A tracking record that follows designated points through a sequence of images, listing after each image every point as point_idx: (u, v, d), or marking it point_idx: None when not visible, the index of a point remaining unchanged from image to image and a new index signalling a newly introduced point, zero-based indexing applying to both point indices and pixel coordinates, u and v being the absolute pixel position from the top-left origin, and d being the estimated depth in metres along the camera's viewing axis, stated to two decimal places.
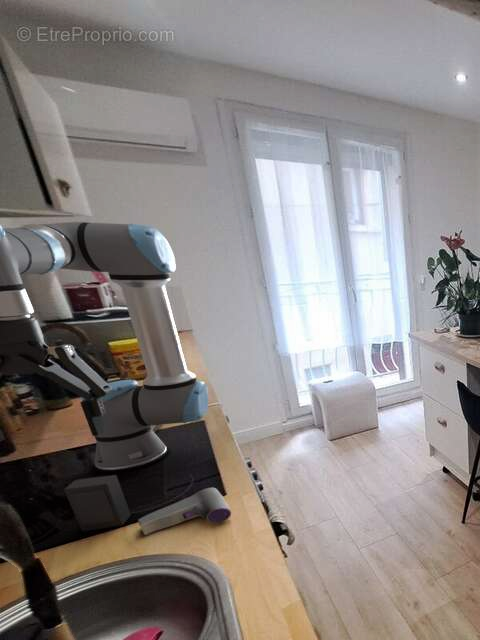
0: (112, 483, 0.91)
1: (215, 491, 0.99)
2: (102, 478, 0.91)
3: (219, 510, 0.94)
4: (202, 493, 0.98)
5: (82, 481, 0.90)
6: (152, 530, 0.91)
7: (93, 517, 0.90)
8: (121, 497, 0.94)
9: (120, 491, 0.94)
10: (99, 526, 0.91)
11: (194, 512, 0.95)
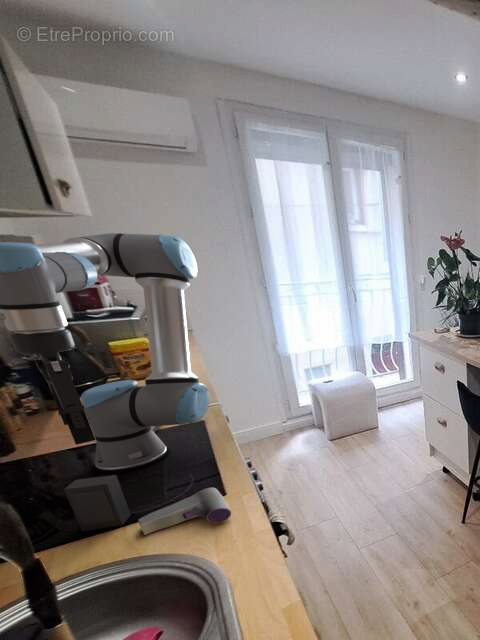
0: (112, 483, 0.91)
1: (215, 491, 0.99)
2: (102, 478, 0.91)
3: (219, 510, 0.94)
4: (202, 493, 0.98)
5: (81, 481, 0.90)
6: (152, 530, 0.91)
7: (93, 517, 0.90)
8: (121, 497, 0.94)
9: (120, 491, 0.94)
10: (99, 526, 0.91)
11: (194, 512, 0.95)
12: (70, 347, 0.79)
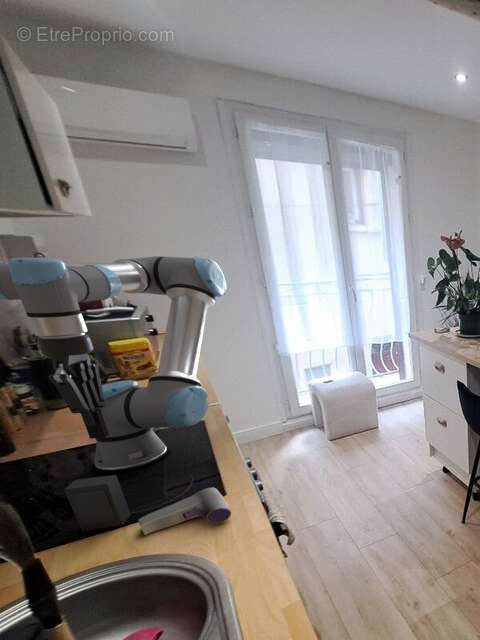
0: (112, 483, 0.91)
1: (215, 491, 0.99)
2: (102, 478, 0.91)
3: (219, 510, 0.94)
4: (202, 493, 0.98)
5: (81, 481, 0.90)
6: (152, 530, 0.91)
7: (93, 517, 0.90)
8: (121, 497, 0.94)
9: (120, 491, 0.94)
10: (99, 526, 0.91)
11: (194, 512, 0.95)
12: (80, 353, 0.86)
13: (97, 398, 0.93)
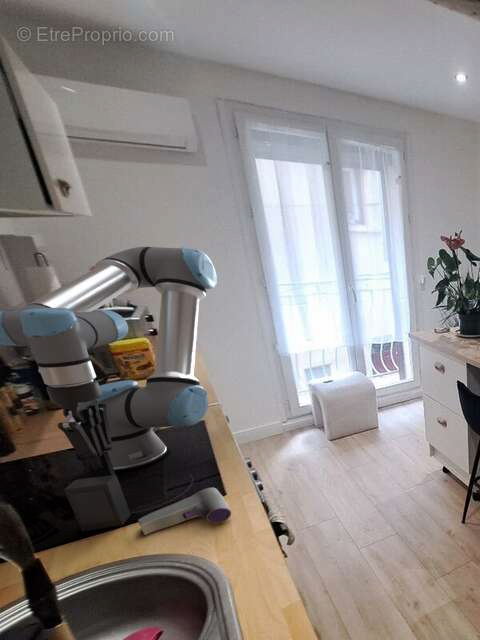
0: (112, 483, 0.91)
1: (215, 491, 0.99)
2: (102, 478, 0.91)
3: (219, 510, 0.94)
4: (202, 493, 0.98)
5: (81, 481, 0.90)
6: (152, 530, 0.91)
7: (93, 517, 0.90)
8: (121, 497, 0.94)
9: (120, 491, 0.94)
10: (99, 526, 0.91)
11: (194, 512, 0.95)
12: (89, 399, 0.87)
13: (105, 441, 0.94)
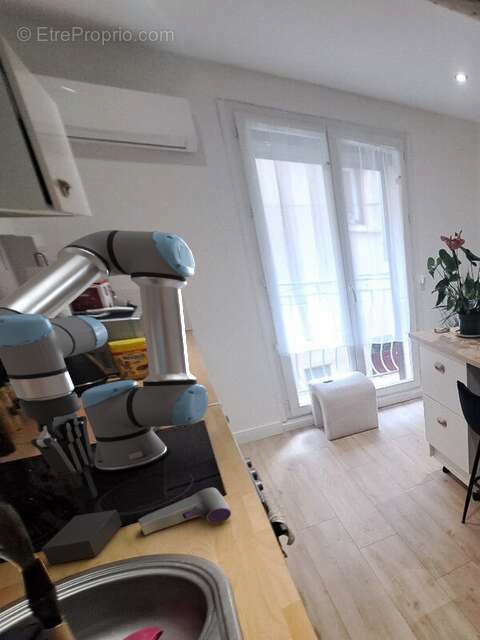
0: (95, 546, 0.84)
1: (215, 491, 0.99)
2: (77, 547, 0.82)
3: (219, 510, 0.94)
4: (202, 493, 0.98)
5: (55, 551, 0.80)
6: (152, 530, 0.91)
7: None
8: (104, 528, 0.87)
9: (100, 530, 0.86)
10: None
11: (194, 512, 0.95)
12: (66, 413, 0.80)
13: (85, 457, 0.87)
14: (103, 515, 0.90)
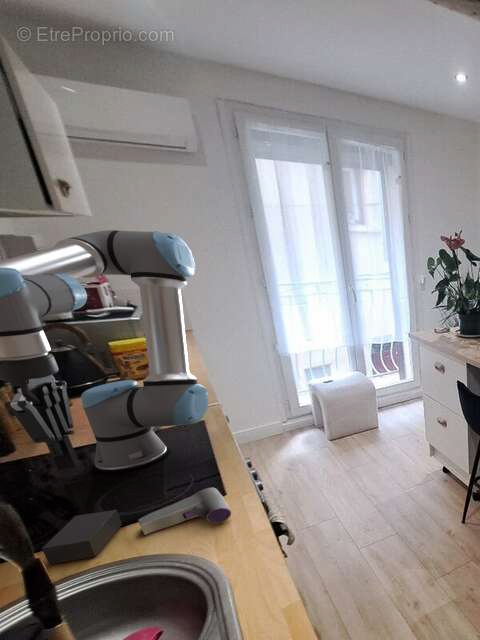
0: (95, 546, 0.84)
1: (215, 491, 0.99)
2: (77, 547, 0.82)
3: (219, 510, 0.94)
4: (202, 493, 0.98)
5: (55, 551, 0.80)
6: (152, 530, 0.91)
7: None
8: (104, 528, 0.87)
9: (100, 530, 0.86)
10: None
11: (194, 512, 0.95)
12: (42, 375, 0.76)
13: (65, 424, 0.82)
14: (103, 515, 0.90)
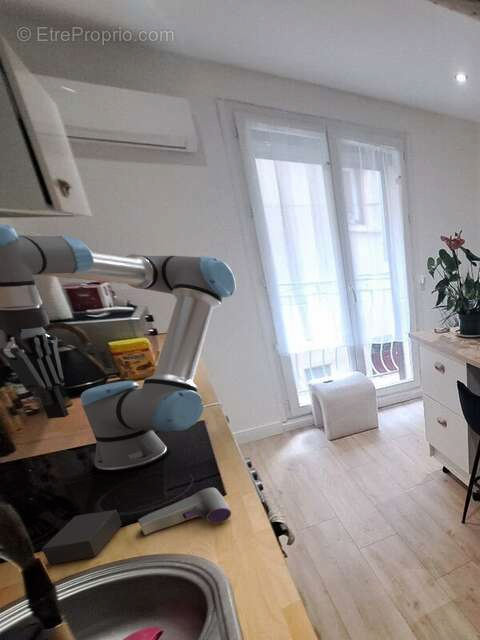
0: (95, 546, 0.84)
1: (215, 491, 0.99)
2: (77, 547, 0.82)
3: (219, 510, 0.94)
4: (202, 493, 0.98)
5: (55, 551, 0.80)
6: (152, 530, 0.91)
7: None
8: (104, 528, 0.87)
9: (100, 530, 0.86)
10: None
11: (194, 512, 0.95)
12: (33, 326, 0.81)
13: (55, 376, 0.88)
14: (103, 515, 0.90)
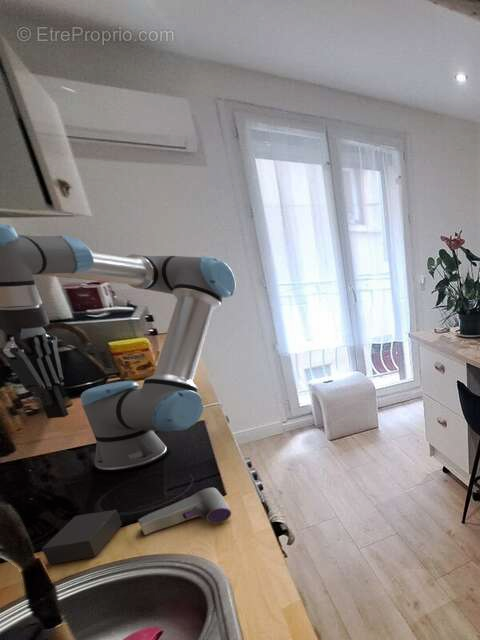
0: (95, 546, 0.84)
1: (215, 491, 0.99)
2: (77, 547, 0.82)
3: (219, 510, 0.94)
4: (202, 493, 0.98)
5: (55, 551, 0.80)
6: (152, 530, 0.91)
7: None
8: (104, 528, 0.87)
9: (100, 530, 0.86)
10: None
11: (194, 512, 0.95)
12: (33, 326, 0.81)
13: (55, 376, 0.88)
14: (103, 515, 0.90)
